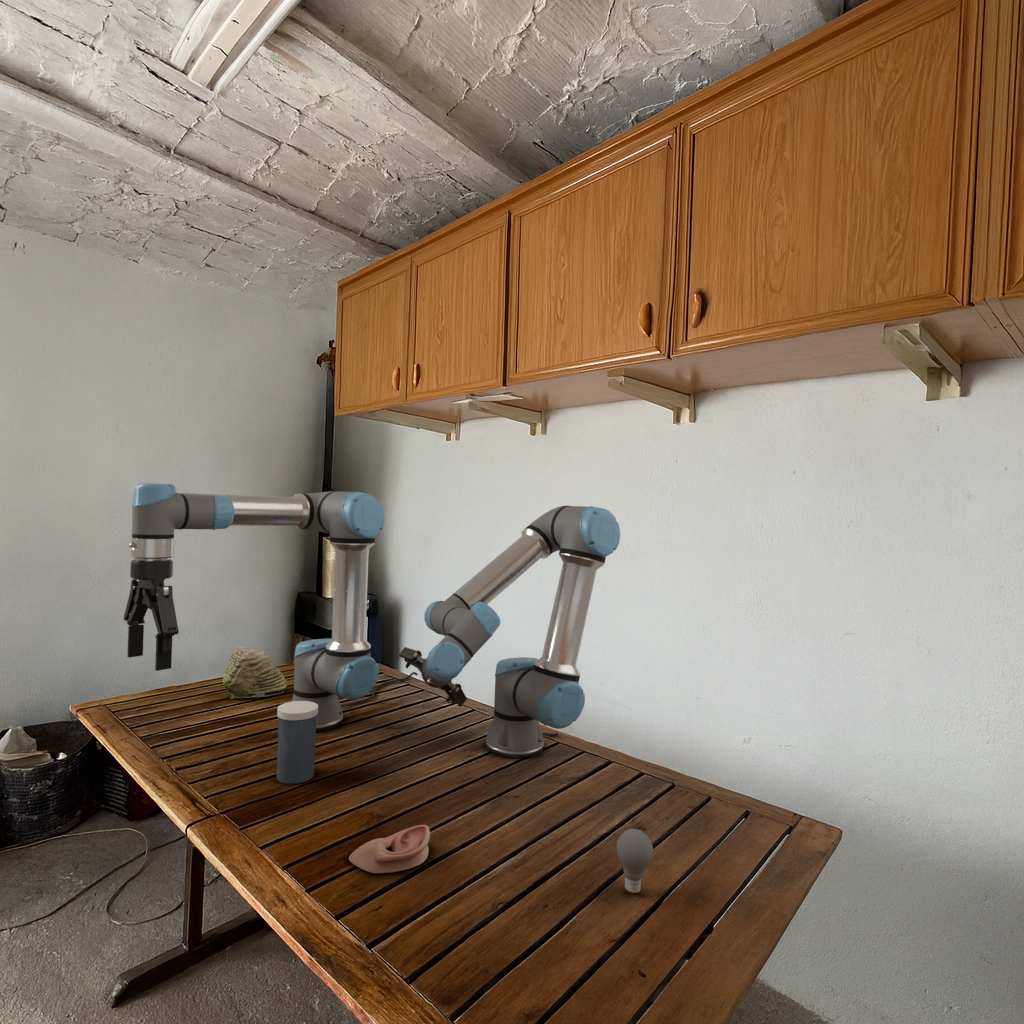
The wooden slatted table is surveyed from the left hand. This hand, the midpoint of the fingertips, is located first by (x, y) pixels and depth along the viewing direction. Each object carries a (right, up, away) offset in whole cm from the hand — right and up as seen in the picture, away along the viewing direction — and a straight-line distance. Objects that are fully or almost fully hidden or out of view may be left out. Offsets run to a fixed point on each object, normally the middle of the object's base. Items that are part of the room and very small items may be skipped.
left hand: (148, 662), depth 129 cm
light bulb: (+94, -33, -24) cm, 103 cm away
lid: (+26, -14, +14) cm, 32 cm away
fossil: (-6, -27, +69) cm, 74 cm away
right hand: (+53, -13, +36) cm, 65 cm away
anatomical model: (+52, -31, -17) cm, 63 cm away
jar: (+25, -29, +14) cm, 41 cm away
